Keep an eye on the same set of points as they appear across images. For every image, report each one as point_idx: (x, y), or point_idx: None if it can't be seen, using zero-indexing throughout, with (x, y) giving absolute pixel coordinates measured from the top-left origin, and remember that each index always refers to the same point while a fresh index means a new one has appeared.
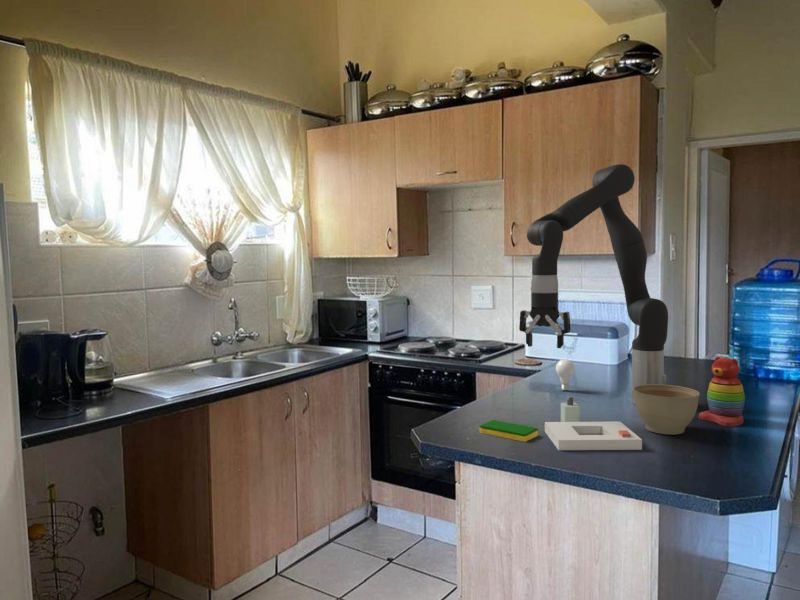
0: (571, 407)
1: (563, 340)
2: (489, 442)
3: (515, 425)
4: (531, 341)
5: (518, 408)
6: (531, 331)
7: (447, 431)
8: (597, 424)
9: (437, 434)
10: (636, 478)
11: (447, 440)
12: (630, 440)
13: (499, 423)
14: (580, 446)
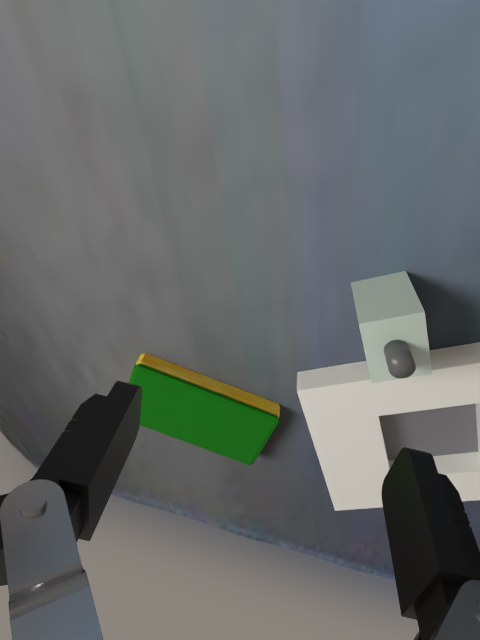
0: (396, 378)
1: (466, 534)
2: (174, 461)
3: (213, 409)
4: (124, 436)
5: (158, 77)
6: (67, 512)
7: (50, 407)
8: (471, 391)
9: (41, 428)
10: None
11: None
12: None
13: (165, 398)
14: None
